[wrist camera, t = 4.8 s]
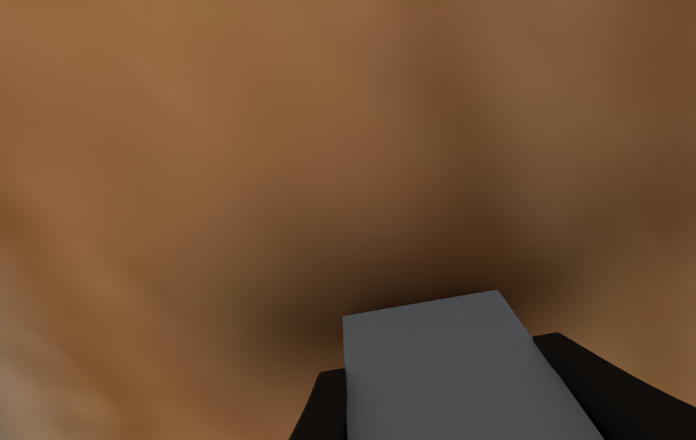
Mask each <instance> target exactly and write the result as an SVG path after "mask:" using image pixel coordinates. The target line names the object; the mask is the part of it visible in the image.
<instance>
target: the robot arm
mask: <svg viewBox="0 0 696 440" xmlns="http://www.w3.org/2000/svg"><path fill="white" fill-rule="evenodd" d="M533 342H534V343H535V345H536V346H537V347H538V349H539V350H540V352H541V353H542V354H543V356H544V357H545V359H546V360H547V362H548V363H549V364H550V366H551V367H552V368H553V369H554V370H555V372H556V373H557V374H558V375H559V376H560V378H561V379H562V381H563V382H564V383H565V385H566V386H567V388H568V389H569V390H570V392H571V393H572V395H573V396H574V398H575V399H576V400H577V402H578V403H579V405H580V406H581V407H582V409H583V410H584V412H585V413H586V414H587V416H588V417H589V419H590V420H591V421H592V423H593V424H594V426H595V427H596V428H597V430H598V431H599V433H600V434H601V435H602V437H603V438H604V440H696V407H694V406H691V405H689V404H687V403H685V402H683V401H681V400H679V399H677V398H675V397H673V396H671V395H669V394H667V393H665V392H663V391H661V390H659V389H657V388H655V387H653V386H651V385H649V384H647V383H645V382H643V381H641V380H639V379H638V378H636V377H634V376H632V375H630V374H629V373H627V372H625V371H623V370H621V369H620V368H618V367H616V366H614V365H613V364H611V363H609V362H608V361H606V360H604V359H602V358H601V357H599V356H597V355H596V354H594V353H592V352H591V351H589V350H587V349H586V348H584V347H582V346H581V345H579V344H577V343H576V342H574V341H572V340H571V339H569V338H567V337H565V336H564V335H562V334H560V333H558V332H556V333H550V334H544V335H538V336H533ZM346 410H347V382H346V370H345V368H342V369H336V370H330V371H324V372H321V373H320V374H319V375H318V377H317V379H316V382H315V385H314V387H313V390H312V392H311V395H310V397H309V399H308V402H307V404H306V406H305V408H304V410H303V412H302V415H301V417H300V419H299V421H298V423H297V425H296V427H295V429H294V431H293V433H292V434H291V436H290V438H289V440H348V438H347V414H346Z"/></svg>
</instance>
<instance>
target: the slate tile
mask: <svg viewBox="0 0 696 440" xmlns="http://www.w3.org/2000/svg"><path fill="white" fill-rule="evenodd" d="M342 319H343V342H344V366H345V370H346V382H347V410H346V414H347V438H348V440H604V438H603V437H602V435H601V434H600V433H599V431H598V430H597V428H596V427H595V426H594V424H593V423H592V421H591V420H590V419H589V417H588V416H587V414H586V413H585V412H584V410H583V409H582V407H581V406H580V405H579V403H578V402H577V400H576V399H575V398H574V396H573V395H572V393H571V392H570V390H569V389H568V388H567V386H566V385H565V383H564V382H563V381H562V379H561V378H560V376H559V375H558V374H557V373H556V372H555V370H554V369H553V368H552V367H551V366H550V364H549V363H548V362H547V360H546V359H545V357H544V356H543V354H542V353H541V352H540V350H539V349H538V347H537V346H536V345H535V343H534V342H533V339H532V337H531V336H530V334H529V333H528V331H527V330H526V329H525V327H524V326H523V324H522V323H521V322H520V320H519V319H518V317H517V316H516V315H515V313H514V312H513V310H512V309H511V308H510V306H509V305H508V303H507V302H506V301H505V299H504V298H503V296H502V295H501V294H500V292H499V291H498V290H492V291H486V292H480V293H474V294H469V295H463V296H457V297H451V298H445V299H439V300H434V301H428V302H422V303H416V304H410V305H405V306H399V307H393V308H387V309H381V310H375V311H370V312H364V313H358V314H352V315H346V316H342Z"/></svg>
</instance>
